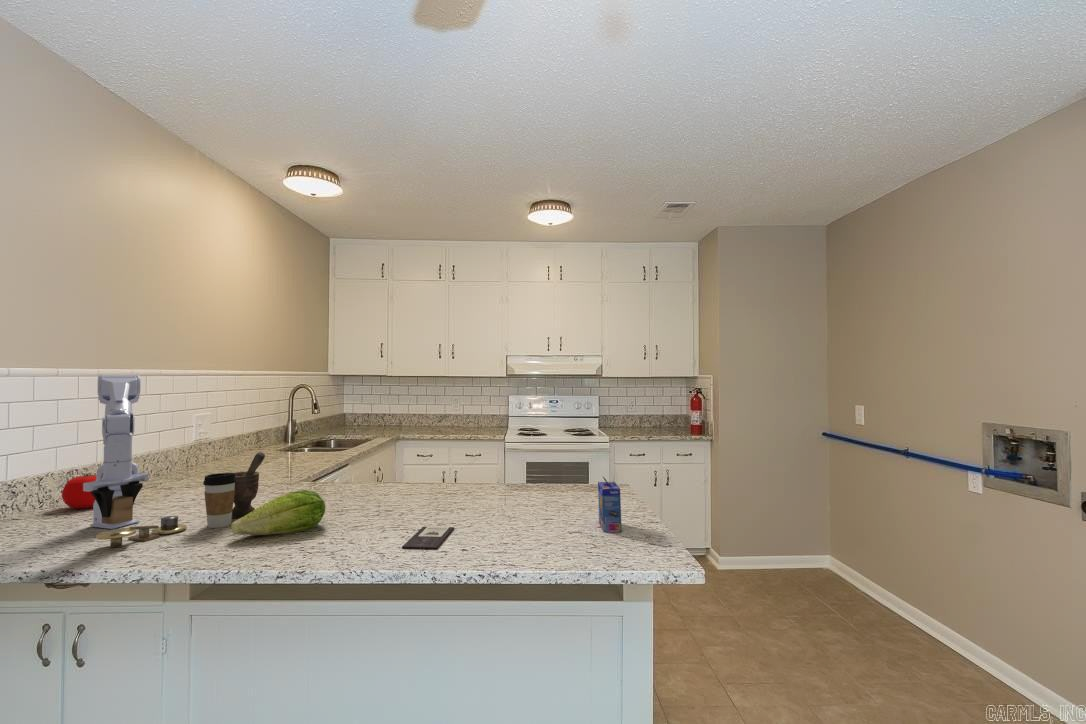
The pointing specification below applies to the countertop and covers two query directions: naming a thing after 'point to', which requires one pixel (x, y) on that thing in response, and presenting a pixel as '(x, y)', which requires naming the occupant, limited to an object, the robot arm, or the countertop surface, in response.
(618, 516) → the ink cartridge box
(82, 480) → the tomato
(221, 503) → the coffee cup
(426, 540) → the chocolate bar
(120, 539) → the balance
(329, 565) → the countertop surface
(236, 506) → the mortar and pestle
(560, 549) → the countertop surface
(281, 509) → the lettuce
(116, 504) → the walnut block
